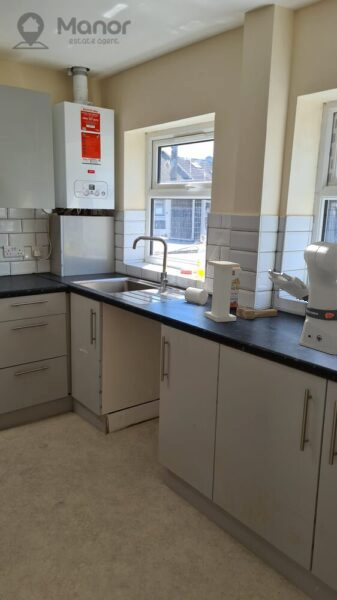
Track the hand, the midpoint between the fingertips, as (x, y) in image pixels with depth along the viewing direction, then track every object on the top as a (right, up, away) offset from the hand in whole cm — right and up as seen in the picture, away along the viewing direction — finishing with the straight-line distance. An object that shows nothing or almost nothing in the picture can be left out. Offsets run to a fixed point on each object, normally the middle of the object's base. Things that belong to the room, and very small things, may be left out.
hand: (275, 272), depth 219 cm
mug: (-36, -15, +27) cm, 47 cm away
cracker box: (-18, -17, +20) cm, 32 cm away
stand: (-28, -22, -9) cm, 36 cm away
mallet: (-8, -21, 0) cm, 23 cm away
